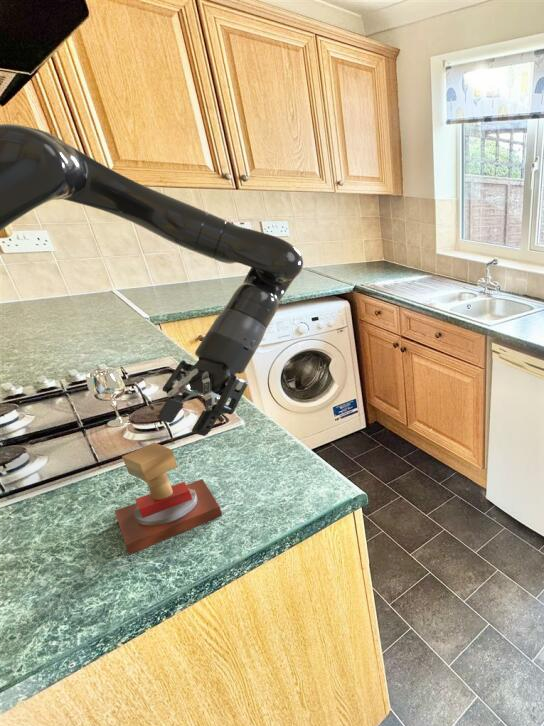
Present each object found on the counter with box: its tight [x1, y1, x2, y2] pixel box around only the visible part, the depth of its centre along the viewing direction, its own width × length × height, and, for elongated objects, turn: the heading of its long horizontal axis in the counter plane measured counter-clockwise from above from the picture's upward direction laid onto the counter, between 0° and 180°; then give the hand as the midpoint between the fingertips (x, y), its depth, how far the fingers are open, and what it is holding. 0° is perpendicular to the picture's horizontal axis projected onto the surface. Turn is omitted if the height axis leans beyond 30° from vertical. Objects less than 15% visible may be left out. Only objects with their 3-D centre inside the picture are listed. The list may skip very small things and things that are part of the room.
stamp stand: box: [114, 478, 223, 555], centre depth 69 cm, size 12×10×2 cm
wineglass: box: [86, 368, 130, 428], centre depth 92 cm, size 6×6×12 cm
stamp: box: [121, 442, 198, 526], centre depth 66 cm, size 8×8×11 cm
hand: (180, 427), depth 68 cm, fingers open, 8 cm apart
